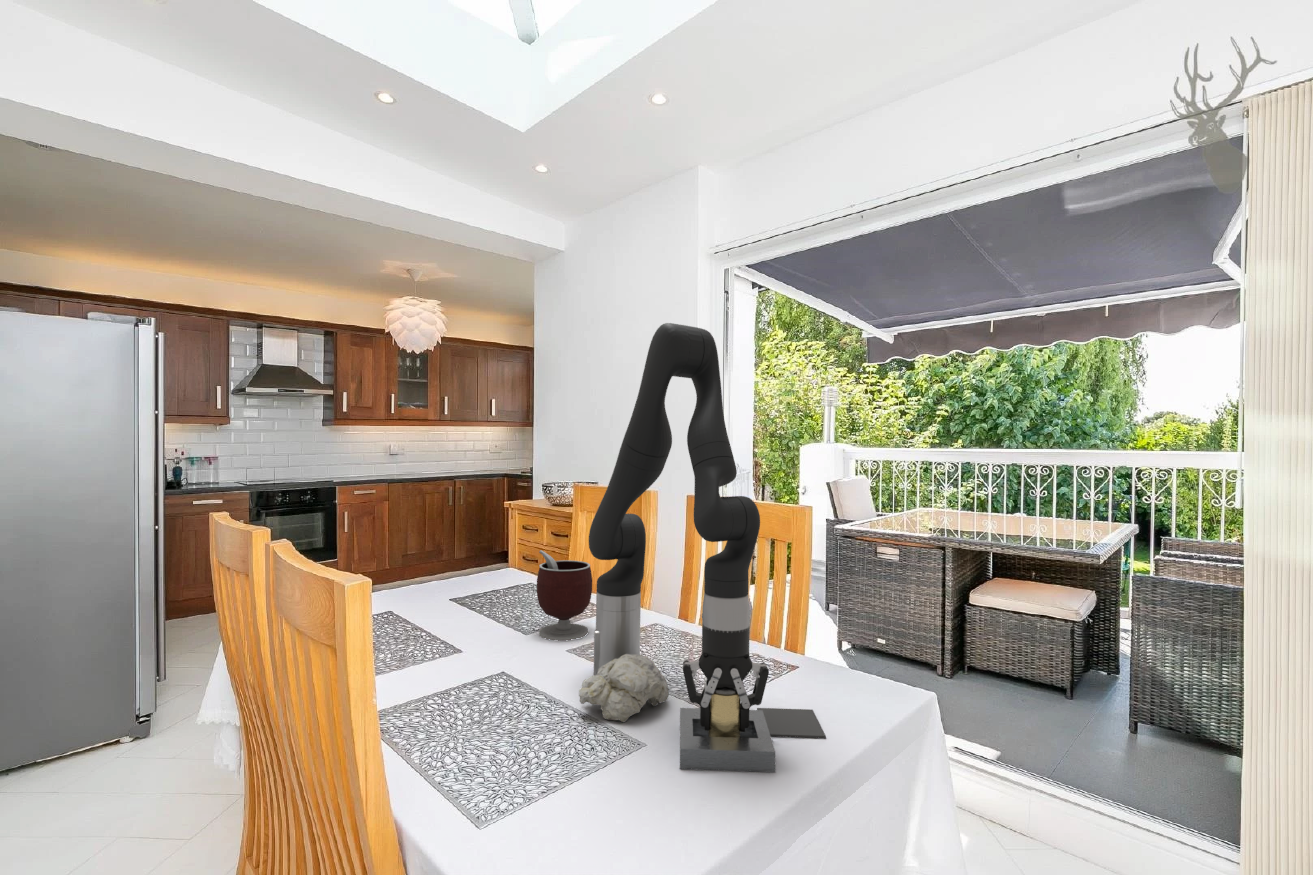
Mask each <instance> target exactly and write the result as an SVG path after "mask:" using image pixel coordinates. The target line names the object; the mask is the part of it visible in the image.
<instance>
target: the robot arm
mask: <svg viewBox="0 0 1313 875" xmlns="http://www.w3.org/2000/svg"><path fill="white" fill-rule="evenodd" d="M713 336H714V335H713V334H712V333H711V332H710V331H708V330H707V329H705V328H702V327H696V326H690V325H685V324H678V323H671V322H665V323H663V324H661V325H659V327H657V329H656V331H655V332H654V334H653V336H652V338H651V340H650V344H649V348H648V351H647V355H646V358H645V359H646V360H645V364H644V368H643V371H642V376H641V381H640V386H639V390H638V394H637V397H636V401H635V404H634V406H633V407H634V408H633V411H632V414H631V417H630V420H629V422H628V426H627V427H626V431H625V433H624V436H623V439H622V441H621V446H620V448H619V450H618V455H617V457H616V458H617V459H616V461H615V465H614V468H613V472H612V474H611V477H610V479H609V482H608V485H607V488H606V490H605V492H604V495H603V497H602V499H601V502H600V503H599V506H598V507H597V510H596V512H595V515H594V517H593V518H592V522H591V525H590V528H589V533H588V549H589V551H590V554H591V555H592V556H593V557H594V558H595V559H597V560H600V561H613V560H614V561H615V560H616V563H614V566H612V568H610V569H609V570H608V571H606V572H604V573H603V574H601V575H599V576H598V578H597V579H596V588H595V589H596V596H595V600H596V602H595V603H596V604H595V607H596V608H595V629H594V632H593V633H594V634H593V635H594V636H593V676H594V675H597V673H598V669H599V668H600V667H602V666H603V665H605V664H607V663H609V662H610V661H612V660H613V659H618V658H620V657H621V656H623V655H625V654H630V655H633V654H637V655H638V656H639V655H641V604H642V603H641V602H642V601H641V600H642V599H641V598H642V597H641V596H642V593H641V592H642V588H641V587H642V582H643V580H644V574H645V559H646V558H645V557H646V545H647V540H646V539H647V536H646V528H645V524H644V521H643V519H642V517H640V516H639V515H637V514H635V513H627V512H628V511H629V509H630V507H631V506H632V505H633V503H635V502H636V501H637V500H638V498H640V497H641V496H642V495H643V494H644V493H645V492H646V491H647V490H649V488H650V487H651V486H652V485H653V484H654V483H655V482H656V481H657V480H658V479H659V477H660V476H661V475H662V473H663V470H664V468H665V466H666V463H667V460H668V458H669V455H670V452H671V449H672V445H673V435H672V429H671V425H670V422H669V418H668V416H667V411H666V404H665V403H666V397H667V396H666V395H667V391H668V387H669V385H670V382H671V380H672V378H673V377H677V378H684V379H685V378H686V379H691V381H692V383H693V386H694V390H695V394H696V403H695V406H694V411H693V414H692V416H691V419H690V421H689V424H688V425H689V426H688V429H687V434H686V435H687V437H686V442H687V449H688V453H689V455H688V456H689V458H690V463H691V467H692V472H693V475H694V498H693V499H694V500H693V524H694V528H695V530H696V532H697V533H698V534H699V536H700V537H701V539H703V540H705V541H706V542H711V543H719V542H726V544H725V546H724V547H723V550H722V551H720V552H718V553H716V554H713V555H711V556H709V557H708V558H707V559H706V560H705V563H704V572H703V574H704V578H703V582H704V585H703V586H704V589H703V590H704V593H703V601H702V609H701V610H702V612H701V621H702V624H701V626H702V627H701V628H702V629H701V655H700V657H699V659H698V660H694V661H689V660H684V661H683V662H682V671H683V678H684V681H685V685H686V686H685V687H686V689H687V695H688V700H689V702H690V703H691V704H698V706H699V708H700V723H701V726H702V727H705V730H707V731H709V709H710V708H709V702H710V699H711V695H713V693H714V691H715V688H722V687H729V688H735V687H736V689H737V692H738V695H739V697H740V700H741V705H740V732H745V728H748V727H749V710H751V707H752V706H760V705H761V704H762V702H763V697H764V693H765V689H766V686H767V682H768V678H769V673H770V670H769V667H768V665H767V663H765V662H760V663H758V662H754V661H752V659H751V657H750V634H751V633H750V632H751V631H750V628H751V627H750V621H751V620H750V619H751V617H750V616H751V613H750V612H751V609H750V599H749V572H750V571H749V569H750V566H751V562H752V559H753V555H754V551H755V548H756V544H757V540H758V537H759V533H760V528H761V515H760V511H759V508H758V506H757V504H756V503H755V501H754V500H752V498H750V497H747V496H745V495H734V496H721V495H720V494H721V493H720V487H724V486H726V485H728V484H730V483H732V482H733V481H734V480H735V479H736V478H737V475H738V474H737V465H736V462H735V457H734V453H733V449H732V446H731V443H730V442H731V441H730V439H729V435H728V431H727V427H726V426H727V425H726V422H725V421H726V420H725V414H724V407H723V406H724V404H723V394H722V382H721V381H722V380H721V373H720V372H721V371H720V362H719V354H718V348H717V344H716V340H715V338H714V337H713ZM698 669H700V670H701V672H702V673H703V675H704V676H705V677H706V680H705V682H704V686H703V689H702V691H701V692H698V691H697V687H696V684H695V677H696V676H697V671H698ZM751 671H753V676H754V678H755V682H754V684H753V690H752V693H750V694H748V693H747V690H746V688H745V684H744V682H743V681H744V680H745V679H746V677H747V676H748V675H749V673H750V672H751Z"/></svg>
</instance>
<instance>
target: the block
mask: <svg viewBox="0 0 1313 875" xmlns="http://www.w3.org/2000/svg"><path fill="white" fill-rule="evenodd" d="M679 769H680V770H696V771H722V772H723V771H725V772H727V771H729V772H751V773H752V772H753V773H755V772H756V773H757V772H758V773H776V749H775V746H774V744H773V740H772V737H771V736H770V733H769V730H768V726H767V723H766V720H765V717H764V713H763V710H757V709H749V727H748V728H745V732H740V738H735V737H709V731H707V730H705V727H702V726H701V723H700V707H699V708H697V707H696V708H695V707H680V708H679Z"/></svg>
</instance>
